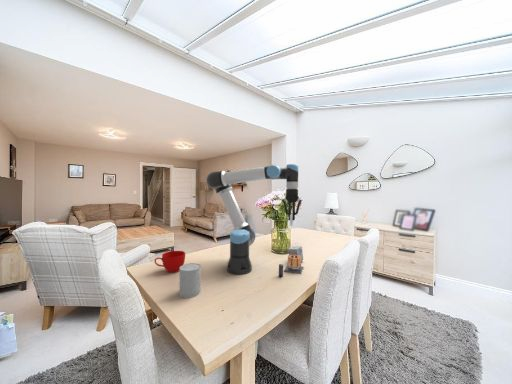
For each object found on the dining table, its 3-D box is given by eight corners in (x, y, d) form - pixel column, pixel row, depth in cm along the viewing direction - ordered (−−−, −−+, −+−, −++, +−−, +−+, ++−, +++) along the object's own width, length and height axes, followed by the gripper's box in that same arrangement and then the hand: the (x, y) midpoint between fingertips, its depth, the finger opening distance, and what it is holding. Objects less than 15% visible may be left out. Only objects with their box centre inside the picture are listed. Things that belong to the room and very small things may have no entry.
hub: (284, 271, 127) (284, 259, 127) (287, 265, 136) (288, 255, 136) (301, 273, 123) (301, 262, 123) (303, 268, 133) (303, 257, 133)
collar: (294, 268, 124) (294, 259, 124) (285, 264, 131) (285, 256, 131) (303, 265, 129) (303, 257, 129) (294, 261, 135) (294, 254, 135)
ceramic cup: (154, 269, 127) (154, 253, 127) (183, 265, 135) (183, 249, 135) (154, 277, 116) (154, 259, 116) (186, 272, 124) (186, 255, 124)
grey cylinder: (192, 286, 106) (193, 261, 106) (204, 292, 100) (204, 266, 100) (175, 293, 99) (175, 267, 99) (186, 300, 93) (186, 272, 93)
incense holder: (292, 259, 150) (292, 244, 150) (303, 261, 146) (303, 246, 146) (286, 263, 142) (286, 247, 142) (298, 265, 137) (298, 249, 137)
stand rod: (278, 276, 119) (278, 265, 119) (279, 275, 121) (279, 264, 121) (282, 277, 118) (282, 266, 118) (283, 275, 120) (283, 264, 120)
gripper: (280, 188, 134) (280, 225, 134) (301, 188, 129) (300, 227, 129) (283, 188, 141) (283, 223, 141) (303, 188, 136) (302, 225, 136)
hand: (291, 225), depth 135 cm, fingers closed
